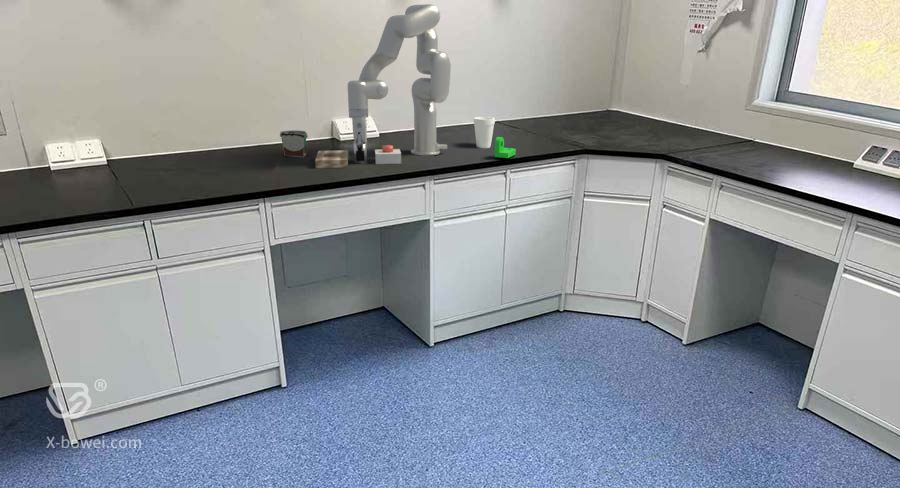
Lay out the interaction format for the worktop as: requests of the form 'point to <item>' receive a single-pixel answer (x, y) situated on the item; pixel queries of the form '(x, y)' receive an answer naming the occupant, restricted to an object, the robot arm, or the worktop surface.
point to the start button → (387, 148)
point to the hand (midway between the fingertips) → (360, 158)
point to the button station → (388, 157)
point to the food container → (294, 143)
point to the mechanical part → (503, 149)
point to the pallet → (332, 159)
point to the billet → (364, 153)
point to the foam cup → (484, 131)
